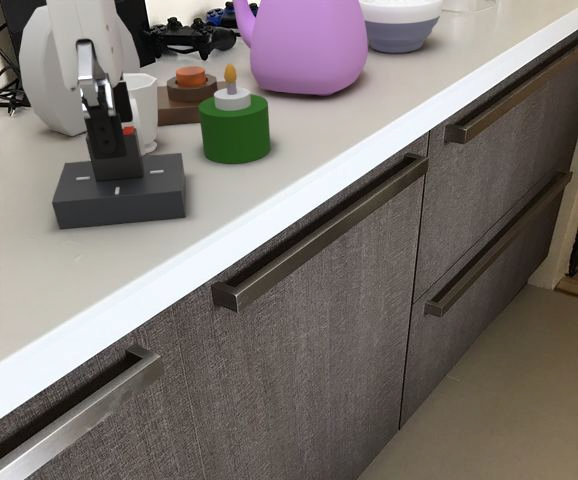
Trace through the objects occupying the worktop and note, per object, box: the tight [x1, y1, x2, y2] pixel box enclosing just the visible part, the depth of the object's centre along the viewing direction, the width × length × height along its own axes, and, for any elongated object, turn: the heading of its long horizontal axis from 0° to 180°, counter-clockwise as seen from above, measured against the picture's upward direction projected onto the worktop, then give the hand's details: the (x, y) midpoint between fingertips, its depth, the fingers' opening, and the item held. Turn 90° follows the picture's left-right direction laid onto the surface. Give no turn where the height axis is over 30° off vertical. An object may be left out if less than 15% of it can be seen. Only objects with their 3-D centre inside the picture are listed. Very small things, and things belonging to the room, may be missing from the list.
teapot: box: [231, 0, 369, 97], centre depth 99 cm, size 23×21×15 cm
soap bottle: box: [18, 4, 141, 137], centre depth 86 cm, size 16×5×20 cm, turn 142°
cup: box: [119, 72, 158, 156], centre depth 81 cm, size 7×10×8 cm
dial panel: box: [51, 152, 186, 230], centre depth 72 cm, size 13×10×3 cm
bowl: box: [359, 0, 444, 54], centre depth 112 cm, size 14×14×8 cm
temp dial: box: [85, 126, 144, 181], centre depth 69 cm, size 5×2×5 cm, turn 97°
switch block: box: [157, 73, 227, 127], centre depth 93 cm, size 12×10×4 cm
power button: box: [175, 65, 206, 86], centre depth 91 cm, size 4×4×2 cm
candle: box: [199, 63, 271, 164], centre depth 79 cm, size 8×8×10 cm
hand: (115, 138), depth 68 cm, fingers open, 9 cm apart
